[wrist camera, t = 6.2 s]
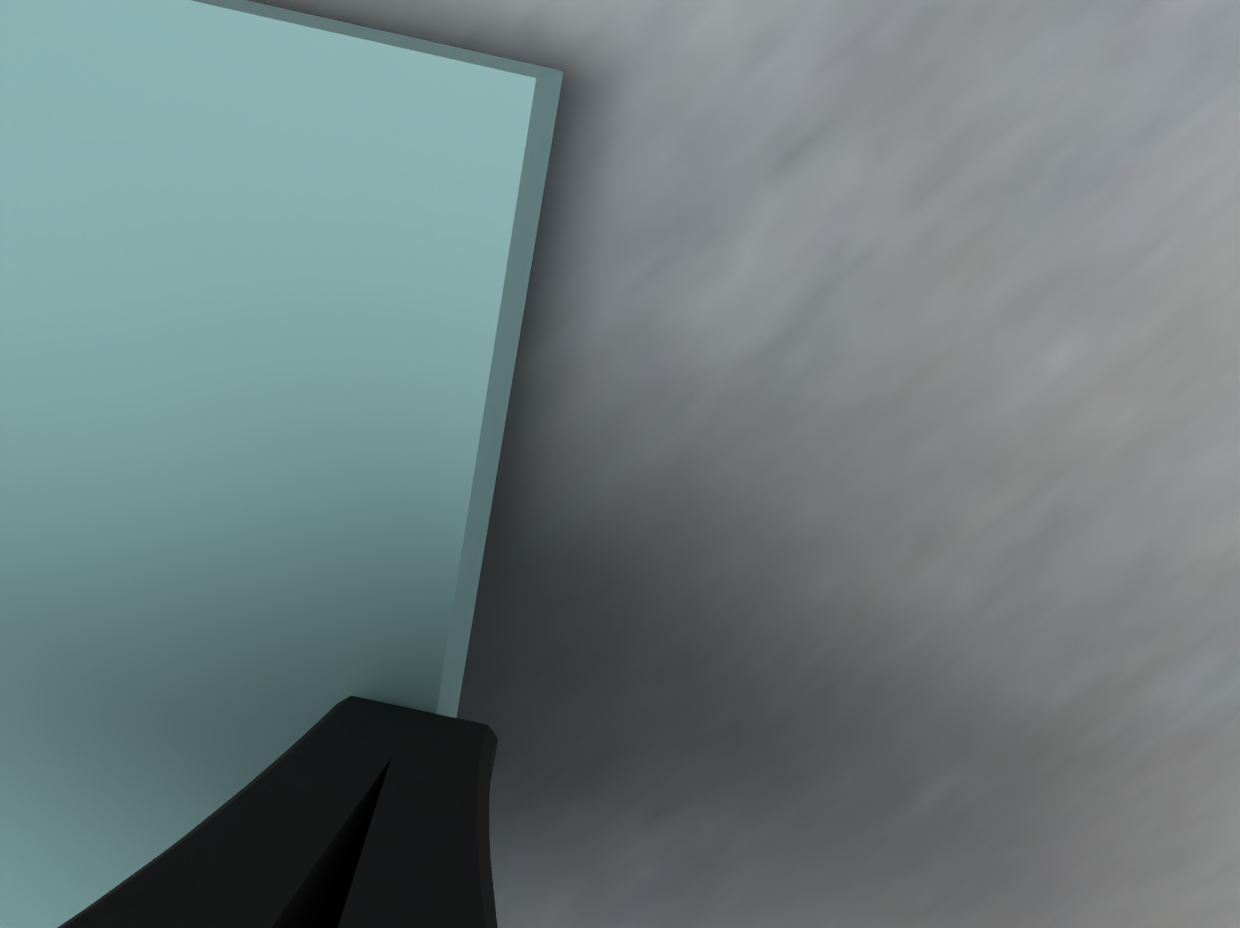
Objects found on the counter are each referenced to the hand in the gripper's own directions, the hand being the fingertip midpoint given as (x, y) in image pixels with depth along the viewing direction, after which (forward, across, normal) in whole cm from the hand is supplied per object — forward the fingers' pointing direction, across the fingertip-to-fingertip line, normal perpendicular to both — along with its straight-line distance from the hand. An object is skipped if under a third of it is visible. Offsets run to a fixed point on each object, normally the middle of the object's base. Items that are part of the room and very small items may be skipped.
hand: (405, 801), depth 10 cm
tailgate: (+1, +5, 0) cm, 5 cm away
